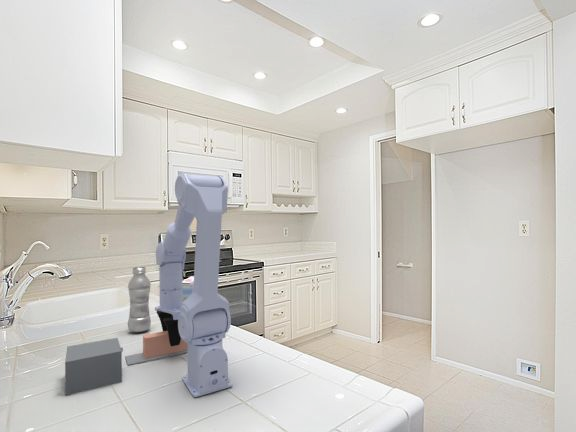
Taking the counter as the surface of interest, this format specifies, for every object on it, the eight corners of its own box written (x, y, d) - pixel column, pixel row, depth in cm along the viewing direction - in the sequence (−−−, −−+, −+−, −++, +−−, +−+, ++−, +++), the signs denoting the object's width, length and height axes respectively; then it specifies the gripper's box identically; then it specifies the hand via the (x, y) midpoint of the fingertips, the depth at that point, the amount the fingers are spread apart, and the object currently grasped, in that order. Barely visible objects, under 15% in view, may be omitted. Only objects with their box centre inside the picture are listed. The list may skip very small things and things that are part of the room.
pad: (187, 352, 85) (187, 351, 85) (127, 366, 78) (127, 364, 78) (181, 345, 91) (181, 344, 91) (125, 357, 83) (125, 356, 83)
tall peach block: (189, 349, 87) (189, 330, 87) (145, 358, 81) (144, 338, 81) (186, 345, 90) (186, 327, 90) (143, 354, 84) (142, 335, 84)
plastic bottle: (135, 328, 107) (135, 266, 107) (155, 328, 106) (154, 266, 106) (123, 334, 101) (122, 269, 101) (143, 335, 100) (143, 269, 100)
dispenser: (124, 381, 70) (123, 350, 71) (65, 395, 65) (65, 362, 65) (119, 364, 79) (119, 337, 79) (67, 375, 73) (67, 346, 74)
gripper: (150, 286, 91) (150, 335, 90) (160, 295, 78) (161, 353, 78) (176, 283, 94) (176, 331, 94) (190, 292, 82) (190, 346, 82)
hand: (171, 340), depth 86 cm, fingers open, 7 cm apart
